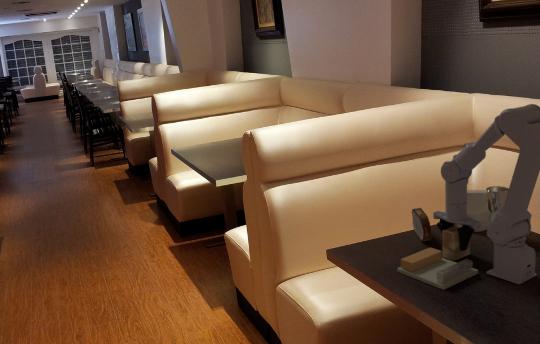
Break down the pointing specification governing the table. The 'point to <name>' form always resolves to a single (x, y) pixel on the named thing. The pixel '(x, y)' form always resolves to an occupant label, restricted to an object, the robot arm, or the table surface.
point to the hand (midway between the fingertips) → (456, 247)
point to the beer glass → (494, 201)
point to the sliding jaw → (421, 259)
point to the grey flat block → (442, 273)
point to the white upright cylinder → (477, 207)
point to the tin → (421, 224)
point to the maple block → (453, 244)
